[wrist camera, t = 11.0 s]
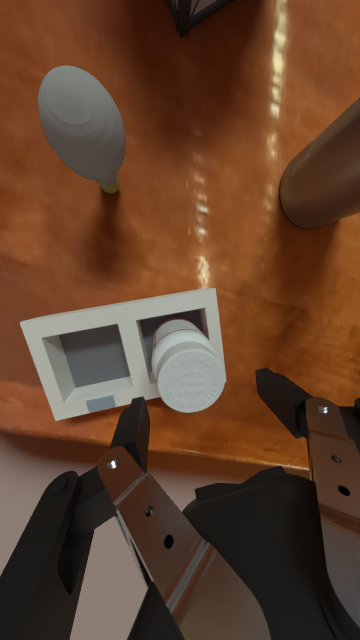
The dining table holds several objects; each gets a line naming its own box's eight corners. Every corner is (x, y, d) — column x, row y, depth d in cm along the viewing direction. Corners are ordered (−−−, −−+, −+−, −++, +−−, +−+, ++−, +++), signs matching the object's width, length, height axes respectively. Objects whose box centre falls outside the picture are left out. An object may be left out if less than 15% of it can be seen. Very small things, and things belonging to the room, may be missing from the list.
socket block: (206, 287, 24) (216, 288, 20) (217, 369, 26) (227, 382, 22) (41, 316, 21) (17, 322, 18) (69, 401, 24) (54, 422, 20)
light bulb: (129, 220, 21) (106, 161, 11) (80, 202, 20) (8, 122, 10) (141, 170, 20) (126, 60, 10) (91, 150, 19) (22, 6, 9)
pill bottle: (187, 365, 25) (212, 428, 14) (146, 351, 24) (137, 408, 13) (204, 325, 24) (246, 358, 13) (162, 309, 23) (168, 330, 12)
